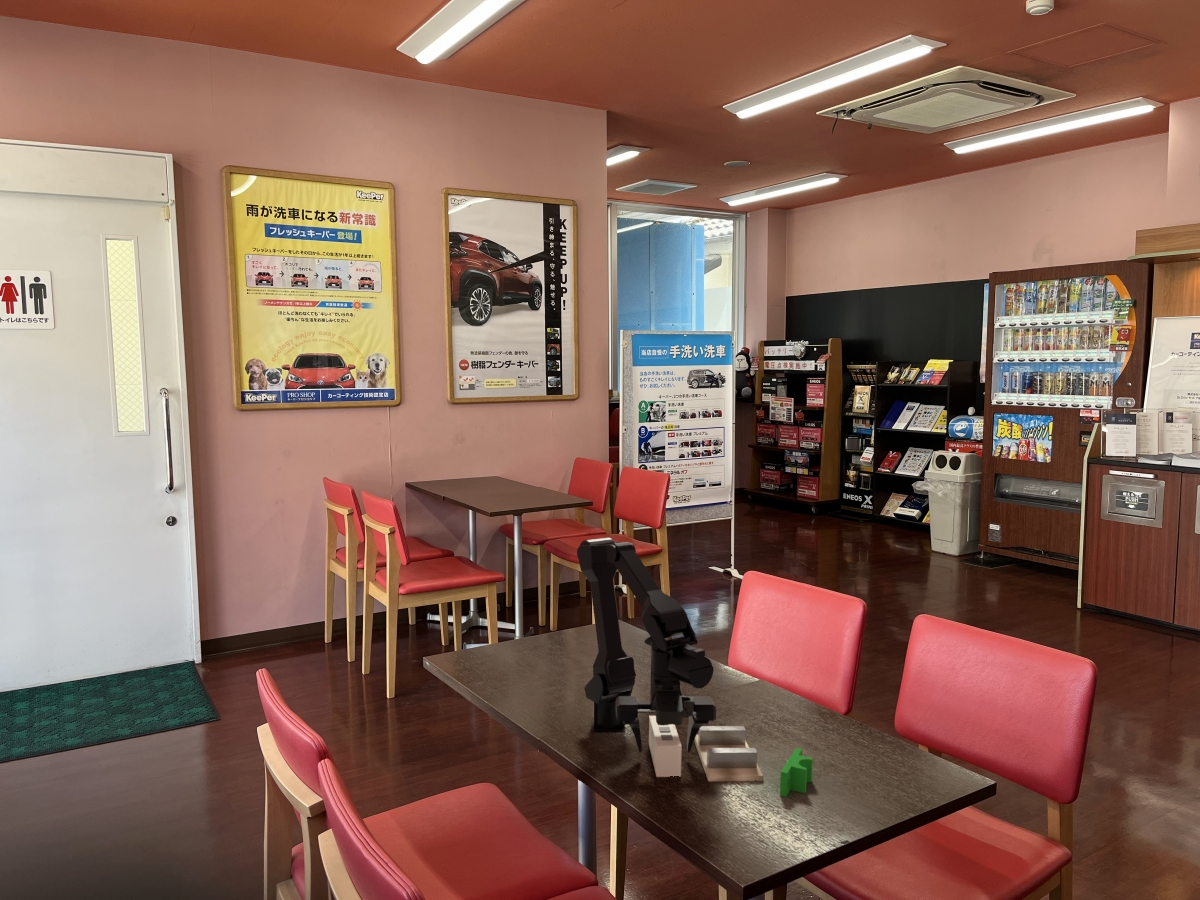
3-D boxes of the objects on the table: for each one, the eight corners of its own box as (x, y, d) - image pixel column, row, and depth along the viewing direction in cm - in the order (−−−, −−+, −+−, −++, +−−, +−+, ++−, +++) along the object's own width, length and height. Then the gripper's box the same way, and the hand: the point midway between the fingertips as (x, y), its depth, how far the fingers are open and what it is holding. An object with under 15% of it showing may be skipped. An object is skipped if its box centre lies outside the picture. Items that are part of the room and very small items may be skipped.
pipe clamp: (801, 802, 146) (801, 776, 145) (779, 797, 147) (780, 771, 147) (815, 775, 156) (816, 751, 155) (795, 770, 157) (796, 747, 157)
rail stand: (708, 781, 152) (708, 760, 152) (693, 739, 170) (693, 720, 170) (763, 781, 153) (763, 759, 152) (742, 739, 170) (742, 720, 170)
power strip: (656, 777, 154) (657, 745, 153) (648, 744, 168) (649, 714, 167) (680, 777, 154) (681, 744, 153) (671, 744, 168) (671, 714, 167)
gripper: (619, 687, 151) (618, 771, 152) (722, 687, 152) (720, 770, 153) (615, 666, 162) (614, 744, 163) (711, 666, 163) (710, 744, 164)
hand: (664, 751), depth 161 cm, fingers open, 9 cm apart
